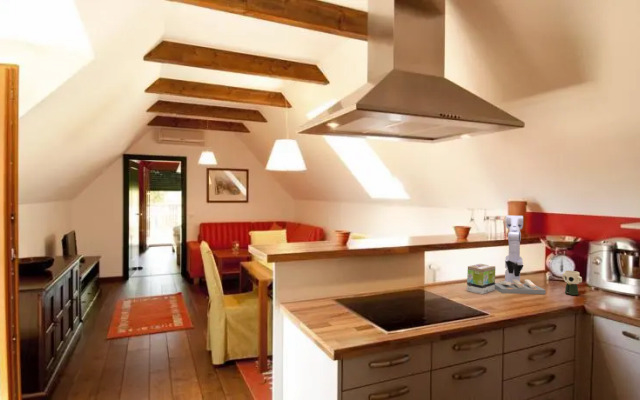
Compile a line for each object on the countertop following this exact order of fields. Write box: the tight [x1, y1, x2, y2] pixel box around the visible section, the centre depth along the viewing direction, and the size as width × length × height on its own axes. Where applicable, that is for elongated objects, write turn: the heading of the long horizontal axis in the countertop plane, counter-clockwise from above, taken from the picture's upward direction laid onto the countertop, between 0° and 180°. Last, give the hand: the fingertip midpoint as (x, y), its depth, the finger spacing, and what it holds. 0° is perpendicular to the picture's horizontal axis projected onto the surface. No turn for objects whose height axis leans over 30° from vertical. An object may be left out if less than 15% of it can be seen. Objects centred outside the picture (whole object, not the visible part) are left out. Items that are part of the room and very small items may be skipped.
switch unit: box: [495, 282, 546, 295], centre depth 210 cm, size 14×24×3 cm, turn 86°
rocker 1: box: [499, 281, 511, 285], centre depth 210 cm, size 8×3×2 cm, turn 176°
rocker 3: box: [523, 279, 537, 288], centre depth 209 cm, size 8×3×2 cm, turn 176°
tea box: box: [466, 263, 496, 295], centre depth 209 cm, size 15×10×15 cm
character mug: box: [561, 270, 583, 296], centre depth 202 cm, size 11×7×13 cm, turn 19°
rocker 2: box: [512, 279, 524, 288], centre depth 210 cm, size 8×3×2 cm, turn 176°
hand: (513, 274), depth 209 cm, fingers open, 7 cm apart
